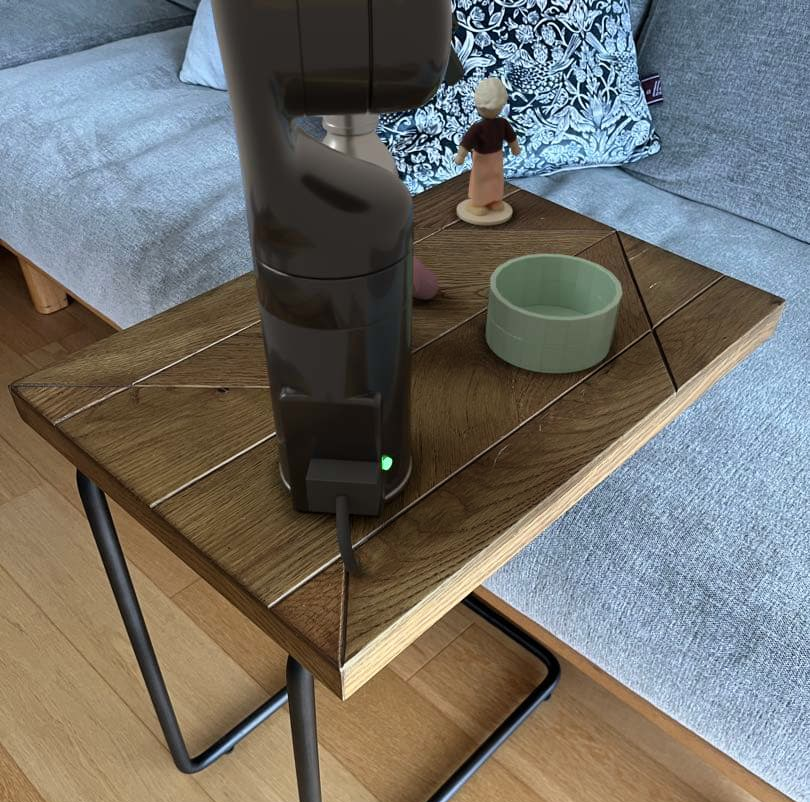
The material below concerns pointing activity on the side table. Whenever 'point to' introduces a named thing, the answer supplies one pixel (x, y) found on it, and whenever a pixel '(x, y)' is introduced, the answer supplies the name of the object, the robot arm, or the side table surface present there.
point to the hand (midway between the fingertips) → (430, 91)
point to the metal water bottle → (358, 139)
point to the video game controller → (423, 281)
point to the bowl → (552, 312)
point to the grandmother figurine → (487, 148)
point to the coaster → (488, 219)
